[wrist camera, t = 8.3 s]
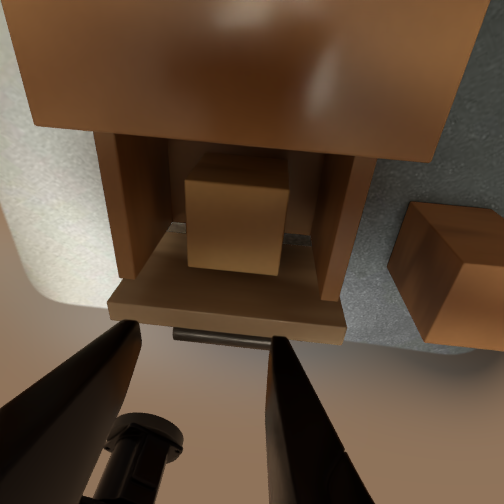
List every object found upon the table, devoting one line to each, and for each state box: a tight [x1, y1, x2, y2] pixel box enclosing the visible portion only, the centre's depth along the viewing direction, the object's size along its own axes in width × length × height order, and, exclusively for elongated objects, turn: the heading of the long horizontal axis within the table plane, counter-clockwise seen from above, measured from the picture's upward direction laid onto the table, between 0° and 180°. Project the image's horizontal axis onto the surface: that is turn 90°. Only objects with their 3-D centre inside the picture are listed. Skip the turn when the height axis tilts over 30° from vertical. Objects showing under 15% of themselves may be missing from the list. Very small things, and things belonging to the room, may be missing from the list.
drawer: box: [93, 131, 377, 350], centre depth 17 cm, size 17×11×7 cm
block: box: [184, 152, 290, 276], centre depth 17 cm, size 4×4×4 cm
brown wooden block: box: [387, 201, 504, 351], centre depth 18 cm, size 5×5×7 cm
